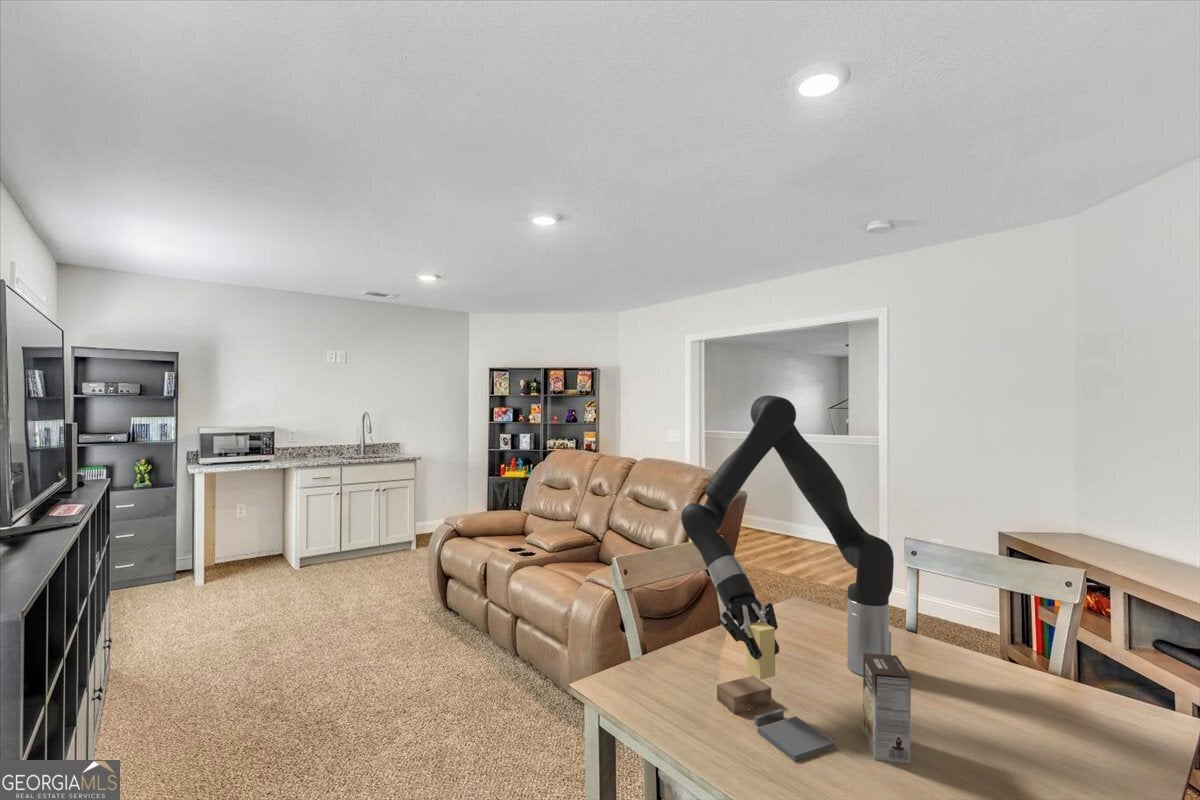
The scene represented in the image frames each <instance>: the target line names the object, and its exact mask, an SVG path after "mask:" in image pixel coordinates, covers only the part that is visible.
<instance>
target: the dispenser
mask: <svg viewBox="0 0 1200 800" xmlns="http://www.w3.org/2000/svg"><path fill="white" fill-rule="evenodd" d="M717 700H718V701H719V702H721V703H722V704H723V705H724V706H723V705H722V704H721V703H720V704H721V705H722V706H723V707H725V706H726V707H727V708H728V709H729V710H728V709H727V708H726V707H725V708H726V709H727V710H728V711H730V710H731V711H732V712H733V713H736V714H739V713H738V712H740V713H743V712H742V711H744V712H746V711H745V710H747V711H749V710H748V709H751V710H753V709H752V708H754V709H757V708H756V707H758V708H760V707H759V706H762V707H764V706H763V705H765V706H768V705H767V704H769V705H771V704H772V687H771V686H769V684H766V683H765V682H763V681H762V680H760V679H758V678H757V677H755V676H754V675H750V676H746V677H742V678H737V679H733V680H729V681H725V682H722V683H718V684H716V701H717ZM718 701H717V702H718ZM719 702H718V703H719ZM731 711H730V712H731ZM732 712H731V713H732ZM733 713H732V714H733ZM784 713H785V711H784V710H783V709H782V708H779V709H776V710H773V711H772V710H771V711H768V712H764V713H761V714H759V715H754V716H753V717H754V725H756V726H757V727H759V726H762V725H766V724H769V723H773V722H776V721H779V720H783V719H785V717H784V716H785V715H784Z"/></svg>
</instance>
